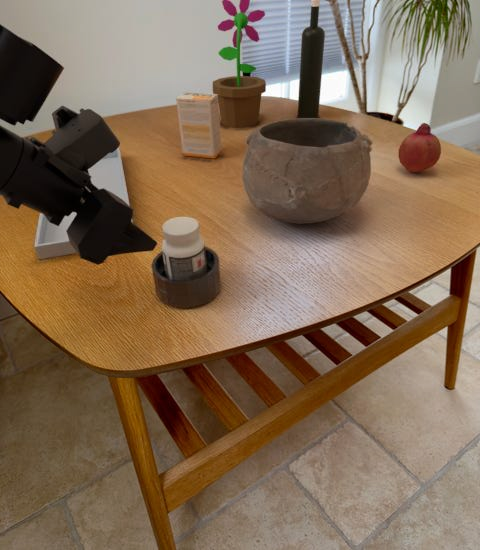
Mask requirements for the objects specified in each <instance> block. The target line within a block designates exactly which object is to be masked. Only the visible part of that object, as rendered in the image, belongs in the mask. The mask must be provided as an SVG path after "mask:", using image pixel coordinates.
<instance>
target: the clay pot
mask: <svg viewBox="0 0 480 550" xmlns="http://www.w3.org/2000/svg"><path fill="white" fill-rule="evenodd" d="M246 144H247V149H246V152H245V155H244V159H243V163H242V175H241V177H242V182H243V187H244V189H245V193H246V195H247V197H248V199H249V201H250V202H251V204H253V206H254V207H255V208H256V209H258V210H259V211H260V212H262V213H263V214H265V215H266V216H267V217H270V218H273V219H275V220H278V221H281V222H286V223H289V224H291V223H292V224H300V225H301V224H315V223H321V222H326V221H328V220H332V219H334V218H336V217H339V216H342V215H343V214H345V213H347V212H348V211H350V210H351V209H352V208H354V207H355V206H356V205H357V204H358V203H359V202H360V201H361V199H362V197H363V196H364V194H365V193H366V191H367V188H368V186H369V183H370V179H371V174H372V164H371V161H372V159H371V152H372V150H373V148H372V145H373V141H372V140H371V139H370V138H369V137H368V135H366V134H364V133H363V134H362V132H361V131H359V130H358V129H357V127H356V126H355V125H350V124H349V123H348V122H345V121H342V120H336V119H329V118H319V117H318V118H287V119H286V118H285V119H280V120H275V121H271V122H267V123H265V124H263V125H260V126H259V127H258V129H253V130H252V131H251V132H250V134H249V135H248V137H247V138H246Z"/></svg>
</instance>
